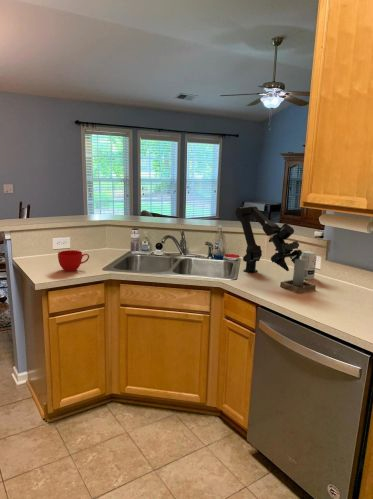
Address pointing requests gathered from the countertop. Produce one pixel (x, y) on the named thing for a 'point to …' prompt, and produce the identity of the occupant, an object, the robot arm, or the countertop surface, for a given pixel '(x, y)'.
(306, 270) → the supplement can
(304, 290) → the walnut tray
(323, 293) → the countertop surface
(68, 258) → the ceramic cup
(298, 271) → the slate part
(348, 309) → the countertop surface
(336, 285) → the countertop surface
